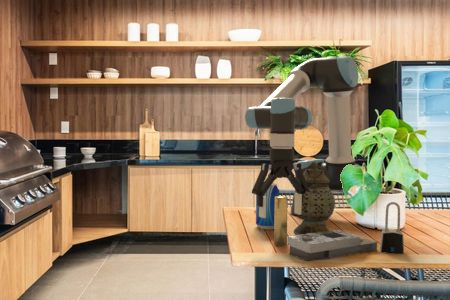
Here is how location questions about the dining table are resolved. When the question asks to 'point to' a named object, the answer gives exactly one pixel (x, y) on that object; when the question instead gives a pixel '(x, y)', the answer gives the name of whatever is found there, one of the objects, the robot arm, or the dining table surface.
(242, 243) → the dining table surface
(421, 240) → the dining table surface
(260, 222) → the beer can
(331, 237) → the grey device box
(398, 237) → the padlock
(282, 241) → the brass pin
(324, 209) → the lantern
